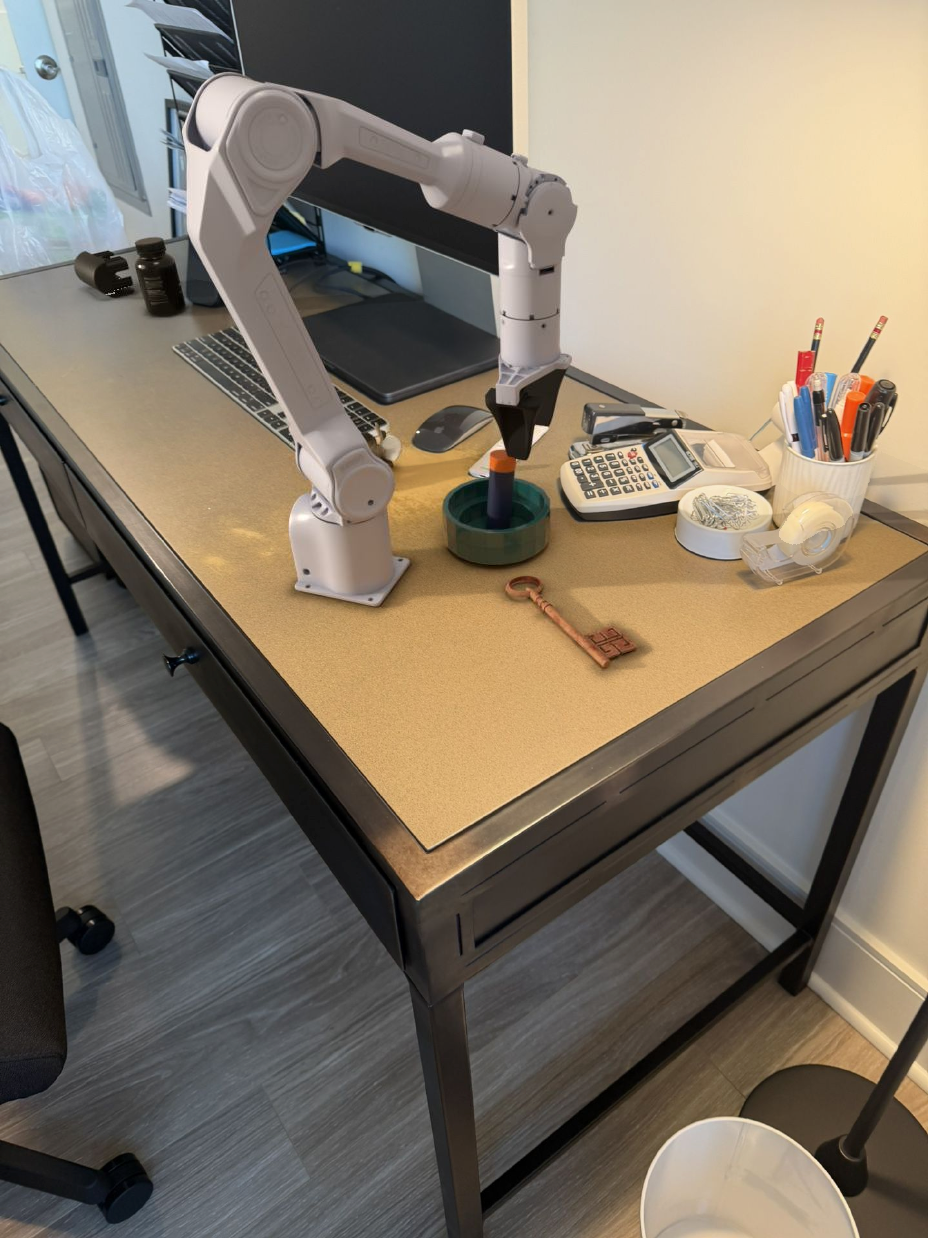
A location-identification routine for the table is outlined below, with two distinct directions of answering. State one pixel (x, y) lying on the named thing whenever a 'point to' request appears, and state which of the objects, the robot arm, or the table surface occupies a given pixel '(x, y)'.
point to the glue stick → (500, 490)
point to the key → (583, 640)
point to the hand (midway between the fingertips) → (529, 440)
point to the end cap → (103, 273)
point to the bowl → (496, 546)
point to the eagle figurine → (384, 446)
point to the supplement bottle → (158, 278)
